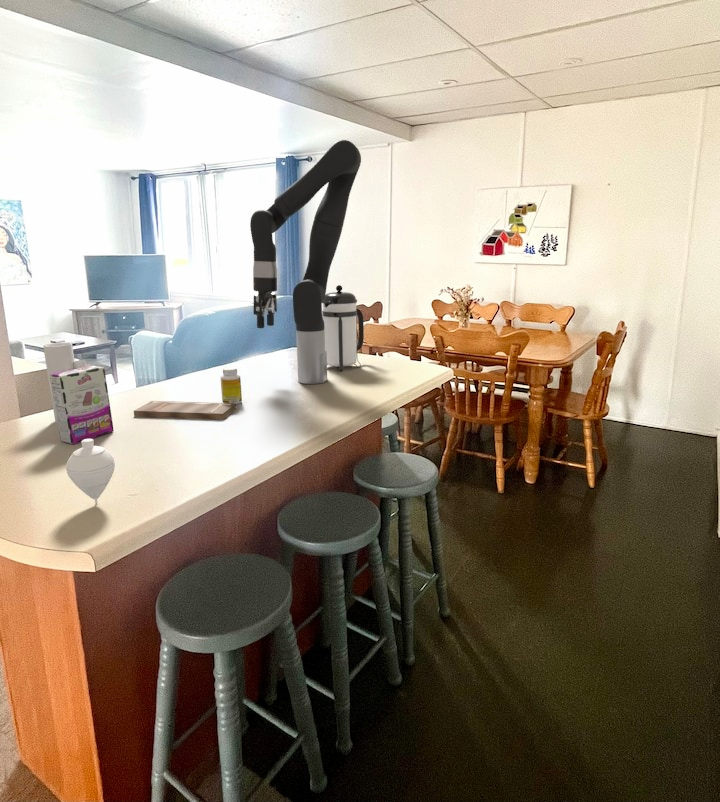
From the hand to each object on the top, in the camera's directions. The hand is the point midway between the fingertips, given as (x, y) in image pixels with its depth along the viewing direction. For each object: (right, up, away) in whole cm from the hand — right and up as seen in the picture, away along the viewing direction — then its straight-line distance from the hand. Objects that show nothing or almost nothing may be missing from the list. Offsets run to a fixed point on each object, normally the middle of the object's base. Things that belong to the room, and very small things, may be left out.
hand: (265, 326), depth 185 cm
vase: (-44, -30, -36) cm, 64 cm away
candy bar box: (-35, -33, -49) cm, 69 cm away
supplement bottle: (-6, -25, -21) cm, 33 cm away
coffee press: (+24, -12, +26) cm, 38 cm away
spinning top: (-16, -43, -85) cm, 96 cm away
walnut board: (-17, -27, -30) cm, 44 cm away
